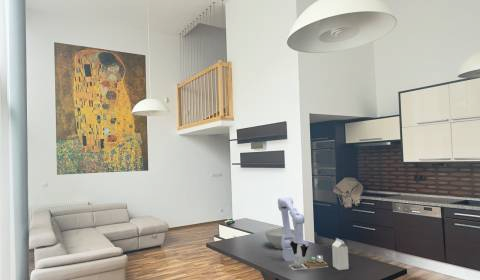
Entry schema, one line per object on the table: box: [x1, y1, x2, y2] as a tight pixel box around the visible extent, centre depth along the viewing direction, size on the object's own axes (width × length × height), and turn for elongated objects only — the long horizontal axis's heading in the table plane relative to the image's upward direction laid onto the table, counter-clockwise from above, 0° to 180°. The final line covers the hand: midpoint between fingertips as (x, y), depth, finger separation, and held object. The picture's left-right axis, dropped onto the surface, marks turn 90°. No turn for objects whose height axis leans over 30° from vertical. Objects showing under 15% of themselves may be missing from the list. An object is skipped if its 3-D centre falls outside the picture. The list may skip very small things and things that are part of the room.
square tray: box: [288, 263, 308, 271], centre depth 202 cm, size 9×9×2 cm
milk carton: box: [331, 237, 350, 271], centre depth 199 cm, size 7×7×19 cm
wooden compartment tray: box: [303, 260, 329, 270], centre depth 203 cm, size 8×14×3 cm, turn 101°
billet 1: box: [293, 257, 302, 269], centre depth 202 cm, size 4×4×6 cm
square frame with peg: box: [306, 257, 317, 262], centre depth 210 cm, size 6×6×3 cm
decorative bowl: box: [264, 227, 294, 250], centre depth 255 cm, size 27×27×12 cm
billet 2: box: [316, 254, 324, 264], centre depth 204 cm, size 4×4×6 cm
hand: (299, 255), depth 198 cm, fingers open, 7 cm apart
